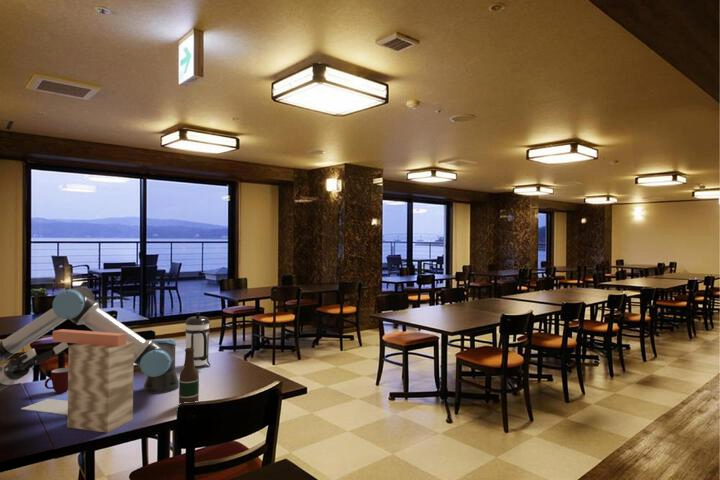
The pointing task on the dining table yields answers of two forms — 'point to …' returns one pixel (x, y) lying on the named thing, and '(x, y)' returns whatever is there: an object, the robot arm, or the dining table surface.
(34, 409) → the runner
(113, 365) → the stand
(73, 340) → the pink long bar
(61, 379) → the mug
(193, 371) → the beer bottle
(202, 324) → the coffee press
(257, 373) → the dining table surface
